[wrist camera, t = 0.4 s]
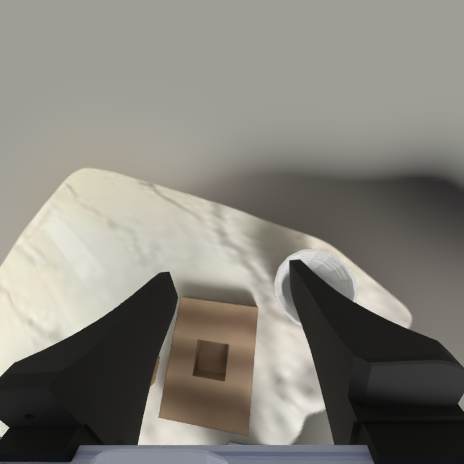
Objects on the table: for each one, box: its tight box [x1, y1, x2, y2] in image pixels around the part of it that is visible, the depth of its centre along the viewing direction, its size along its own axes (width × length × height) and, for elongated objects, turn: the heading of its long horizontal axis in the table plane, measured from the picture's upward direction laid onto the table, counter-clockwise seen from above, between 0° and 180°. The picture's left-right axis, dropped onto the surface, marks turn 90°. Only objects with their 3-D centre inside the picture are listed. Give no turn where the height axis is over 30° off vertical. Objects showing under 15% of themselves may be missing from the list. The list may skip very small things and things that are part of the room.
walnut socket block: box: [158, 297, 258, 436], centre depth 35 cm, size 18×14×4 cm
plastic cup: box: [274, 249, 358, 326], centre depth 33 cm, size 11×11×12 cm
